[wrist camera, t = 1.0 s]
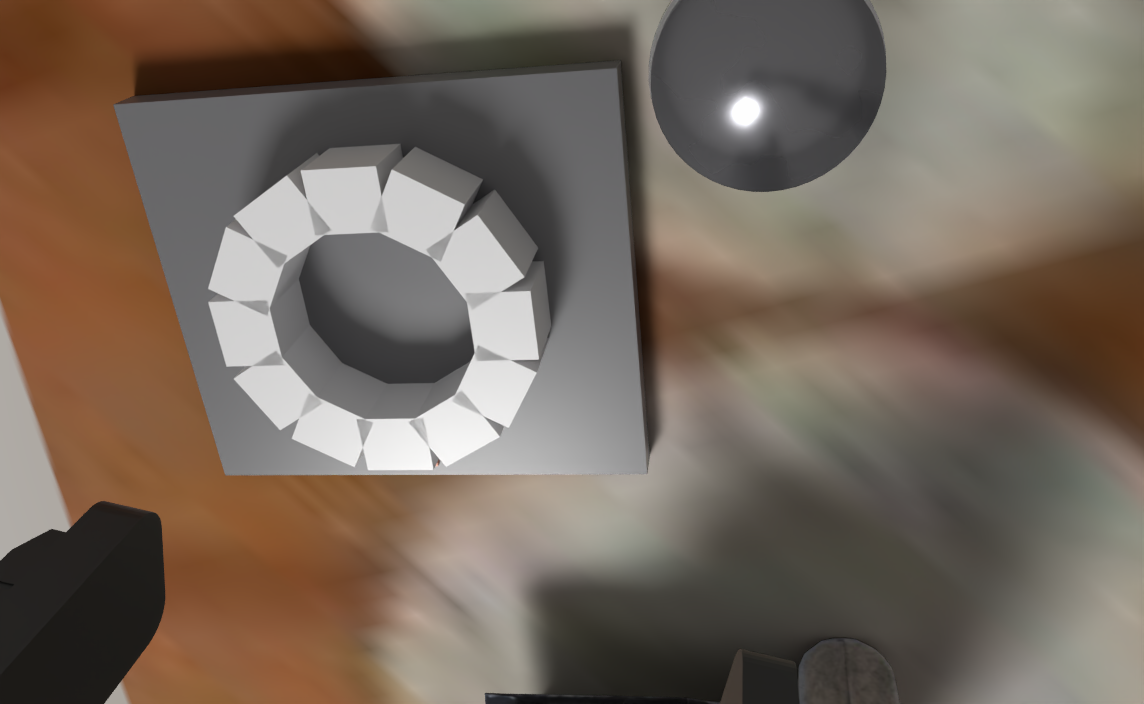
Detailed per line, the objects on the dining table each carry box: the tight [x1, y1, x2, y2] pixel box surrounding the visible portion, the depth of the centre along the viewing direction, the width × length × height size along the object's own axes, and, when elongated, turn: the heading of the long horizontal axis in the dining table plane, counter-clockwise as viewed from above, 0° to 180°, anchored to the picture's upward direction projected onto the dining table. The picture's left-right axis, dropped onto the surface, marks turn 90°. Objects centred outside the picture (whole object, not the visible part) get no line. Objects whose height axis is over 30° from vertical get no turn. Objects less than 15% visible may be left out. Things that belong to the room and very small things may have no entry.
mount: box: [114, 60, 650, 475], centre depth 32 cm, size 16×14×4 cm
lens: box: [649, 0, 886, 192], centre depth 24 cm, size 5×5×9 cm
